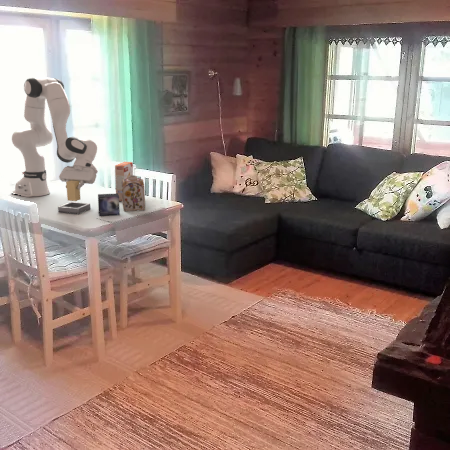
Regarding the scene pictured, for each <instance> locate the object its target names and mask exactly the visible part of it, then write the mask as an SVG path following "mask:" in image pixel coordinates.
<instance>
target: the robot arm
mask: <svg viewBox="0 0 450 450" xmlns="http://www.w3.org/2000/svg"><path fill="white" fill-rule="evenodd" d="M23 90H24V93H25V100H24V113H23V114H24V115H23V118H24V119H25V120H26V122H27V123H29V124H30V128H25V129H20V130H16V131H15V132H13V133H12V136H11V142H12V144H13V146H14V147H15V148H16V149H18V150H19V151H20V153H21V154H22V157H23V159H24V165H25V170H24V171H23V172H22V171H21V173H22V175H23V177H22V178H20V180H18V181H17V182H16V183H15V188H14V190H13V191H12V192H13V193H15V194H18V195H17V196H19V195H21V196H20V197H24V198H25V197H26V198H31V197H41V196H46V195H49V194H50V193H51V192H50V190H49V189H50V188H49V186H48V182H47V170H46V163H45V157H44V155H42V154H41V153H39V152H38V150H37V148H40V147H45V146H48V145H50V144H51V143H52V141H53V140H54V139H53V138H54V137H53V134H52V131H51V130H50V129H49V128H48V126H47V125H46V120H45V116H46V113H45V112H46V103H47V105H48V109H49V113H50V116H51V117H50V118H51V123H52V127H53V132H54V136H55V141H56V156H57V158H58V160H60V161H61V162H62V163H67V164H68V163H72V162H73V161H74V162H73V165H72V166H70V165H67V166H65V167H63V169H62V170H61V172H60V174H59V175H58V178H59V180H60V181H61V182H62V183H63V182H64V183H66V182H68V181H71V180H72V181H79V185H77V187H76V189H79V190H80V191H81V188H82V187H83V186H84V185H85V184H86V185H87V184H88V185H89V184H90V185H93V184H94V183H95V181H96V179H97V174H98V169H97V168H96V166H95V165H94V164H93V161H94V160H95V159H96V158H95V157H97V156H96V155H97V152H98V145H97V144H96V142H94V141H93V140H91V139H81V138H78V137H76V136H69V137H68V134H67V129H66V127H67V122H68V119H69V117H70V114H71V106H70V105H71V104H70V102H69V99H68V96H67V94H66V91H65V85H64V82H63V81H62V80H61V79H58V78H54V77H53V78H52V77H29V78H27V79H26V80H25V82H24V85H23ZM65 188H66V189H67V186H66V185H65Z"/></svg>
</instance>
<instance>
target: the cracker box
mask: <svg viewBox="0 0 450 450" xmlns="http://www.w3.org/2000/svg"><path fill="white" fill-rule="evenodd" d="M114 173H115V175H114V176H115V177H114V178H115V194H117V193H118V195H119V202H122V180H123V179H126V178H128V176H131V175H134V162H132V161H123V162H120V163H117V164H116V165H114Z"/></svg>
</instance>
